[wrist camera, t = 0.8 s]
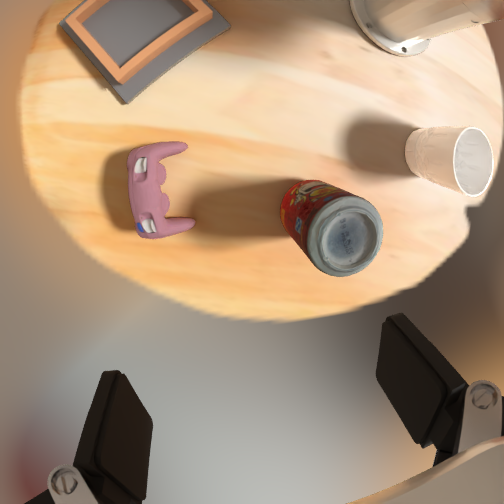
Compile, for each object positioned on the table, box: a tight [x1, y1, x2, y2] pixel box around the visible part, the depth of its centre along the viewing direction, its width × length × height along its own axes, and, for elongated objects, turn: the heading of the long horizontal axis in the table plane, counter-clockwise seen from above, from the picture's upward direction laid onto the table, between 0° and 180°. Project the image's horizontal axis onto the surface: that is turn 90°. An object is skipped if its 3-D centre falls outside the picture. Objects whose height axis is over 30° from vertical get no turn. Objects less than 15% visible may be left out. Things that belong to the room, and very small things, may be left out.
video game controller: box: [127, 142, 196, 239], centre depth 29 cm, size 10×5×7 cm, turn 4°
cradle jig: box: [59, 0, 231, 104], centre depth 22 cm, size 14×16×3 cm
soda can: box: [280, 180, 383, 277], centre depth 28 cm, size 7×7×12 cm
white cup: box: [405, 126, 493, 197], centre depth 29 cm, size 8×8×10 cm
